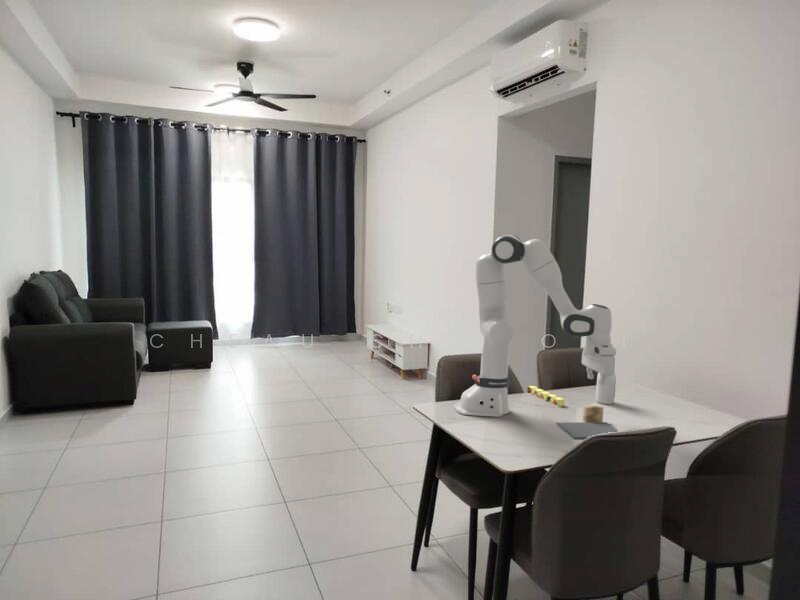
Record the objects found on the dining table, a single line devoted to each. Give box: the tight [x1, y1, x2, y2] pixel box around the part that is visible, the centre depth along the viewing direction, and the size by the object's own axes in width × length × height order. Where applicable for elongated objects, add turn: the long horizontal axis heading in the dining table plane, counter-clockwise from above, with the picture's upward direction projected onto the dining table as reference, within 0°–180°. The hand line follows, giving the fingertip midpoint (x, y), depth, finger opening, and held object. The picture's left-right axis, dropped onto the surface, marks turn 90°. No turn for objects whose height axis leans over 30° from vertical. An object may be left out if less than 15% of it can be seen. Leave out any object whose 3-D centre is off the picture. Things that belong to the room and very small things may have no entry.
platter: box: [526, 385, 565, 407], centre depth 242 cm, size 32×32×3 cm
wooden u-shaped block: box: [582, 405, 604, 422], centre depth 213 cm, size 7×2×6 cm, turn 96°
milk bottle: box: [595, 371, 617, 405], centre depth 240 cm, size 8×8×20 cm
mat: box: [555, 421, 619, 440], centre depth 202 cm, size 20×16×1 cm
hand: (596, 381), depth 212 cm, fingers open, 8 cm apart
